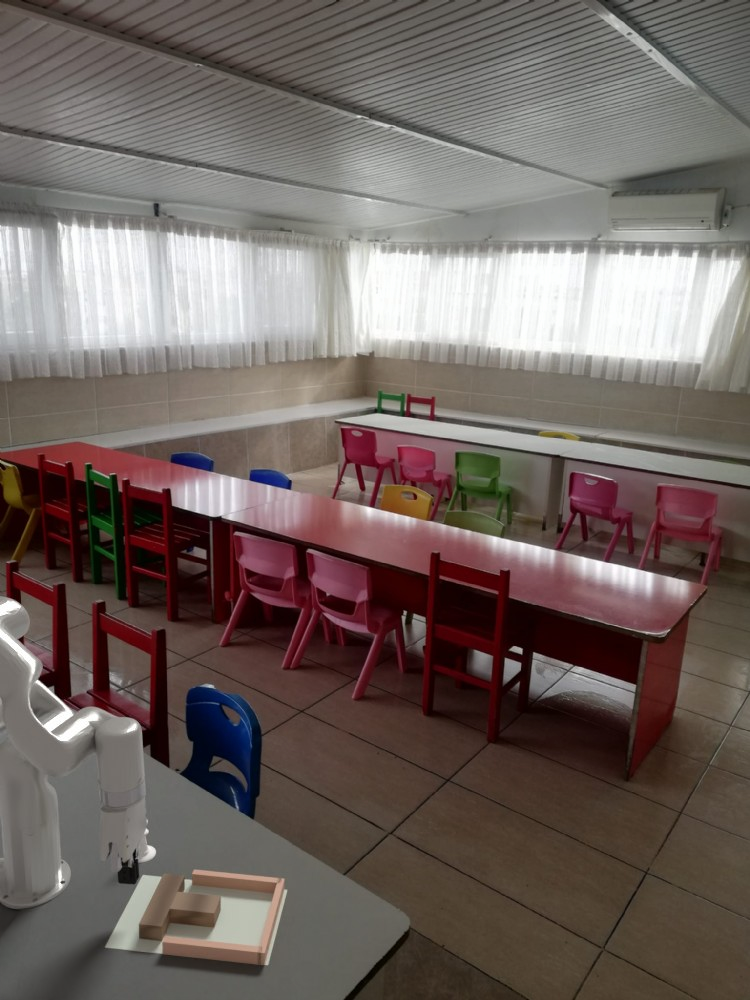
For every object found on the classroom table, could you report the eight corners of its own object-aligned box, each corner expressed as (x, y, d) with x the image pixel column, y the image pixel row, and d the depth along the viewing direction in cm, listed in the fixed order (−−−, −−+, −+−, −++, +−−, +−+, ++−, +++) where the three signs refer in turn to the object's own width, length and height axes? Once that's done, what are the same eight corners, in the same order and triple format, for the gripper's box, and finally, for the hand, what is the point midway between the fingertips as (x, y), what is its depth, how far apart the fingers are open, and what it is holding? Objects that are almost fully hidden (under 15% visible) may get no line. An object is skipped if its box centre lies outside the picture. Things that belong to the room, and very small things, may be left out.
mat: (104, 950, 126) (104, 947, 126) (142, 877, 143) (142, 874, 142) (268, 968, 124) (268, 965, 124) (287, 892, 141) (287, 889, 141)
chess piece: (129, 867, 145) (128, 822, 143) (130, 849, 150) (129, 806, 147) (156, 863, 146) (155, 819, 144) (156, 846, 151) (155, 803, 149)
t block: (139, 938, 128) (138, 924, 127) (163, 887, 140) (163, 873, 139) (207, 946, 127) (207, 931, 127) (226, 893, 139) (226, 880, 138)
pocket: (162, 953, 125) (162, 941, 125) (194, 880, 142) (193, 869, 141) (264, 964, 124) (264, 953, 124) (284, 889, 141) (284, 878, 140)
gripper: (119, 763, 136) (125, 850, 140) (81, 815, 121) (89, 911, 125) (159, 765, 135) (164, 853, 139) (126, 818, 121) (133, 914, 125)
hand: (128, 880), depth 132 cm, fingers closed
